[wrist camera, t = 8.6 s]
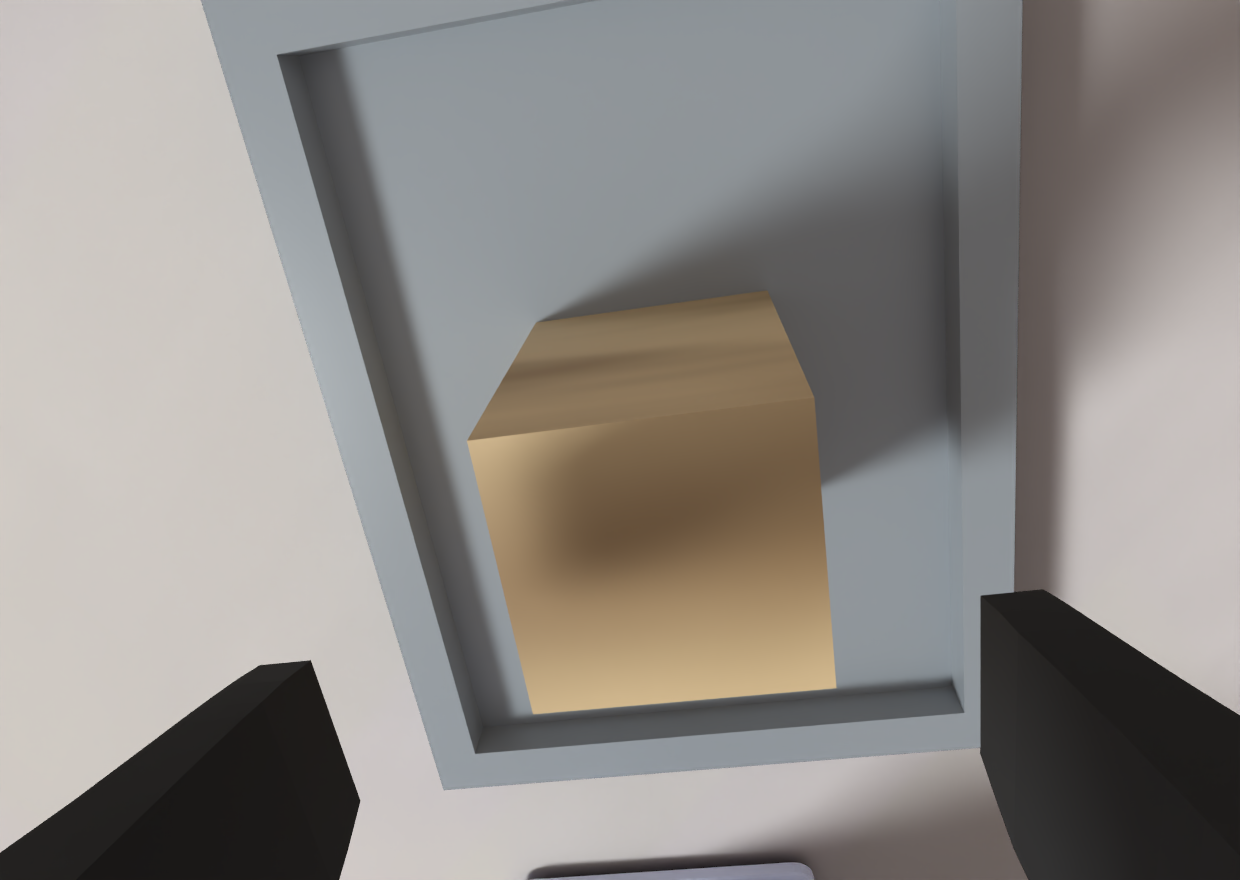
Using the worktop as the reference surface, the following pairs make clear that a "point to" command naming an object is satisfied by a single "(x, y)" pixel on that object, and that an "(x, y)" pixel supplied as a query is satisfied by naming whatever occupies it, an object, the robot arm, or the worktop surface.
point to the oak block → (659, 507)
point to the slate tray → (650, 276)
